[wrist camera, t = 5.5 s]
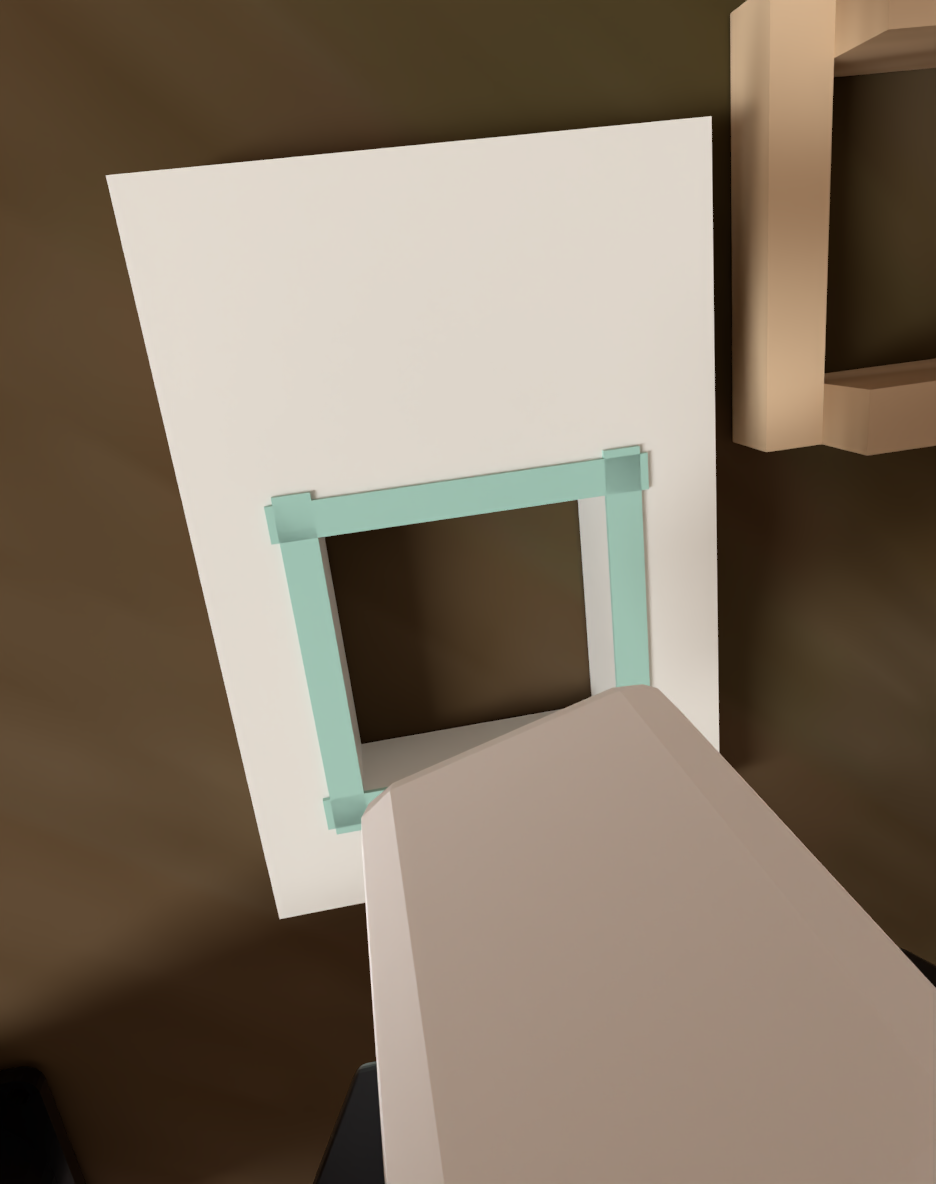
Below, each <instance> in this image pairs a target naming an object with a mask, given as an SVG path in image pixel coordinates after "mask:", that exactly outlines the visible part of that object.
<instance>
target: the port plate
mask: <svg viewBox="0 0 936 1184" xmlns="http://www.w3.org/2000/svg"><path fill="white" fill-rule="evenodd" d="M106 178H107V183H108V187H109V191H110V196H111V200H112V204H113V208H114V213H115V217H116V221H117V225H118V230H119V234H120V238H121V243H122V247H123V251H124V255H125V260H126V264H127V268H128V273H129V277H130V281H131V285H132V290H133V294H134V298H135V303H136V307H137V311H138V315H139V320H140V324H141V328H142V332H143V337H144V341H145V345H146V350H147V354H148V358H149V362H150V367H151V371H152V375H153V380H154V384H155V388H156V392H157V397H158V401H159V405H160V410H161V414H162V418H163V422H164V427H165V431H166V435H167V439H168V444H169V448H170V452H171V457H172V461H173V465H174V469H175V474H176V478H177V482H178V487H179V491H180V495H181V499H182V504H183V508H184V512H185V517H186V521H187V525H188V529H189V534H190V538H191V542H192V546H193V551H194V555H195V559H196V564H197V568H198V572H199V576H200V581H201V585H202V589H203V594H204V598H205V602H206V606H207V611H208V615H209V619H210V624H211V628H212V632H213V636H214V641H215V645H216V649H217V653H218V658H219V662H220V666H221V671H222V675H223V679H224V683H225V688H226V692H227V696H228V701H229V705H230V709H231V713H232V718H233V722H234V726H235V731H236V735H237V739H238V743H239V748H240V752H241V756H242V760H243V765H244V769H245V773H246V778H247V782H248V786H249V790H250V795H251V799H252V803H253V808H254V812H255V816H256V820H257V825H258V829H259V833H260V838H261V842H262V846H263V850H264V855H265V859H266V863H267V867H268V872H269V876H270V880H271V885H272V889H273V893H274V897H275V902H276V906H277V910H278V915H279V919H283V918H288V917H293V916H299V915H304V914H309V913H314V912H319V911H324V910H329V909H334V908H340V907H345V906H350V905H355V904H360V903H365V890H364V875H363V861H362V834H361V817H362V815H363V814H364V812H365V810H366V808H367V806H368V804H369V803H370V802H371V801H372V800H374V799H375V798H376V797H377V796H378V795H379V794H381V793H382V792H383V791H384V790H385V789H386V788H388V787H389V786H390V785H391V784H392V783H394V782H396V781H399V780H401V779H403V778H405V777H408V776H410V775H412V774H415V773H417V772H419V771H421V770H424V769H426V768H428V767H431V766H433V765H435V764H437V763H440V762H442V761H444V760H447V759H449V758H451V757H454V756H456V755H458V754H460V753H463V752H465V751H467V750H470V749H472V748H474V747H476V746H479V745H481V744H483V743H486V742H488V741H490V740H493V739H495V738H497V737H499V736H502V735H504V734H506V733H509V732H511V731H513V730H516V729H518V728H520V727H522V726H525V725H527V724H529V723H532V722H534V721H536V720H538V719H541V718H543V717H545V716H548V715H550V714H552V713H555V712H557V711H559V710H561V709H559V710H554V711H548V712H542V713H536V714H531V715H525V716H519V717H514V718H508V719H502V720H496V721H491V722H485V723H479V724H473V725H468V726H462V727H456V728H451V729H445V730H439V731H433V732H428V733H422V734H416V735H411V736H405V737H399V738H393V739H388V740H382V741H376V742H370V743H365V744H361V740H360V734H359V728H358V723H357V717H356V711H355V706H354V700H353V695H352V689H351V683H350V678H349V672H348V666H347V661H346V655H345V649H344V644H343V638H342V632H341V627H340V621H339V615H338V610H337V604H336V599H335V593H334V587H333V582H332V576H331V570H330V565H329V559H328V553H327V548H326V542H325V537H327V536H334V535H340V534H347V533H354V532H361V531H368V530H374V529H381V528H388V527H395V526H402V525H408V524H415V523H422V522H429V521H436V520H442V519H449V518H456V517H463V516H469V515H476V514H483V513H490V512H497V511H503V510H510V509H517V508H524V507H531V506H537V505H544V504H551V503H558V502H565V501H571V500H578V509H579V523H580V537H581V552H582V566H583V581H584V595H585V609H586V624H587V638H588V653H589V667H590V681H591V696H594V695H596V694H598V693H601V692H603V691H605V690H608V689H610V688H613V687H622V686H631V685H640V684H644V685H647V686H651V687H655V688H658V689H659V690H660V691H661V692H662V693H663V694H664V695H665V696H666V697H667V698H668V699H669V700H670V701H671V702H672V703H673V704H674V705H675V706H676V707H677V708H678V709H679V710H680V711H681V712H682V713H683V714H684V715H685V716H686V717H687V718H688V719H689V720H690V722H691V723H692V724H693V725H694V726H695V727H696V728H697V729H698V730H699V731H700V732H701V734H702V735H703V736H704V737H705V738H706V739H707V740H708V741H709V742H710V743H711V744H712V745H713V747H714V748H715V749H716V750H717V751H718V752H719V686H718V604H717V521H716V439H715V356H714V274H713V191H712V116H708V117H697V118H687V119H677V120H667V121H657V122H646V123H636V124H626V125H616V126H605V127H595V128H585V129H575V130H565V131H554V132H544V133H534V134H524V135H514V136H503V137H493V138H483V139H473V140H462V141H452V142H442V143H432V144H422V145H411V146H401V147H391V148H381V149H371V150H360V151H350V152H340V153H330V154H320V155H309V156H299V157H289V158H279V159H268V160H258V161H248V162H238V163H228V164H217V165H207V166H197V167H187V168H177V169H166V170H156V171H146V172H136V173H125V174H115V175H106Z"/></svg>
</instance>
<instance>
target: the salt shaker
mask: <svg viewBox="0 0 936 1184" xmlns="http://www.w3.org/2000/svg"><path fill="white" fill-rule="evenodd" d="M361 834H362V861H363V875H364V890H365V904H366V919H367V933H368V948H369V962H370V976H371V991H372V1005H373V1020H374V1034H375V1049H376V1063H377V1077H378V1092H379V1106H380V1121H381V1135H382V1150H383V1164H384V1178H385V1184H936V988H935V987H934V985H933V984H932V983H931V982H930V981H929V980H928V979H927V978H926V977H925V976H924V975H923V974H922V972H921V971H920V970H919V969H918V968H917V967H916V966H915V965H914V964H913V963H912V962H911V960H910V959H909V958H908V957H907V956H906V955H905V954H904V953H903V952H902V951H901V950H900V949H899V947H898V946H897V945H896V944H895V943H894V942H893V941H892V940H891V939H890V938H889V937H888V936H887V934H886V933H885V932H884V931H883V930H882V929H881V928H880V927H879V926H878V925H877V924H876V922H875V921H874V920H873V919H872V918H871V917H870V916H869V915H868V914H867V913H866V912H865V911H864V909H863V908H862V907H861V906H860V905H859V904H858V903H857V902H856V901H855V900H854V899H853V897H852V896H851V895H850V894H849V893H848V892H847V891H846V890H845V889H844V888H843V887H842V886H841V884H840V883H839V882H838V881H837V880H836V879H835V878H834V877H833V876H832V875H831V874H830V873H829V871H828V870H827V869H826V868H825V867H824V866H823V865H822V864H821V863H820V862H819V861H818V859H817V858H816V857H815V856H814V855H813V854H812V853H811V852H810V851H809V850H808V849H807V848H806V846H805V845H804V844H803V843H802V842H801V841H800V840H799V839H798V838H797V837H796V836H795V835H794V833H793V832H792V831H791V830H790V829H789V828H788V827H787V826H786V825H785V824H784V823H783V821H782V820H781V819H780V818H779V817H778V816H777V815H776V814H775V813H774V812H773V811H772V810H771V808H770V807H769V806H768V805H767V804H766V803H765V802H764V801H763V800H762V799H761V798H760V797H759V795H758V794H757V793H756V792H755V791H754V790H753V789H752V788H751V787H750V786H749V785H748V783H747V782H746V781H745V780H744V779H743V778H742V777H741V776H740V775H739V774H738V773H737V772H736V770H735V769H734V768H733V767H732V766H731V765H730V764H729V763H728V762H727V761H726V760H725V759H724V757H723V756H722V755H721V754H720V753H719V752H718V751H717V750H716V749H715V748H714V747H713V745H712V744H711V743H710V742H709V741H708V740H707V739H706V738H705V737H704V736H703V735H702V734H701V732H700V731H699V730H698V729H697V728H696V727H695V726H694V725H693V724H692V723H691V722H690V720H689V719H688V718H687V717H686V716H685V715H684V714H683V713H682V712H681V711H680V710H679V709H678V708H677V707H676V706H675V705H674V704H673V703H672V702H671V701H670V700H669V699H668V698H667V697H666V696H665V695H664V694H663V693H662V692H661V691H660V690H659V689H658V688H655V687H651V686H647V685H644V684H640V685H631V686H622V687H613V688H610V689H608V690H605V691H603V692H601V693H598V694H596V695H594V696H591V697H589V698H587V699H585V700H582V701H580V702H578V703H575V704H573V705H571V706H568V707H566V708H564V709H561V710H559V711H557V712H555V713H552V714H550V715H548V716H545V717H543V718H541V719H538V720H536V721H534V722H532V723H529V724H527V725H525V726H522V727H520V728H518V729H516V730H513V731H511V732H509V733H506V734H504V735H502V736H499V737H497V738H495V739H493V740H490V741H488V742H486V743H483V744H481V745H479V746H476V747H474V748H472V749H470V750H467V751H465V752H463V753H460V754H458V755H456V756H454V757H451V758H449V759H447V760H444V761H442V762H440V763H437V764H435V765H433V766H431V767H428V768H426V769H424V770H421V771H419V772H417V773H415V774H412V775H410V776H408V777H405V778H403V779H401V780H399V781H396V782H394V783H392V784H391V785H390V786H389V787H388V788H386V789H385V790H384V791H383V792H382V793H381V794H379V795H378V796H377V797H376V798H375V799H374V800H372V801H371V802H370V803H369V804H368V806H367V808H366V810H365V812H364V814H363V815H362V817H361Z"/></svg>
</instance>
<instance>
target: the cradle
mask: <svg viewBox="0 0 936 1184" xmlns="http://www.w3.org/2000/svg"><path fill="white" fill-rule="evenodd" d="M730 40H731V231H732V423H733V442H735V443H738V444H741V445H744V446H748V447H751V448H754V449H757V450H761V451H764V452H772V451H778V450H785V449H792V448H799V447H806V446H813V445H820V444H823V445H827V446H831V447H835V448H839V449H843V450H847V451H851V452H855V453H859V454H862V455H866V456H868V455H875V454H882V453H889V452H895V451H902V450H909V449H916V448H923V447H929V446H936V358H935V359H928V360H921V361H913V362H906V363H898V364H891V365H883V366H876V367H869V368H861V369H854V370H846V371H839V372H832V373H824V368H825V336H826V304H827V272H828V239H829V207H830V175H831V143H832V111H833V78H834V77H843V76H854V75H864V74H875V73H886V72H896V71H907V70H917V69H928V68H936V0H747V1H746V2H745V3H743V4H742V5H741V6H739V7H738V8H737V9H736V10H734V11H733V12H732V13H731V14H730Z"/></svg>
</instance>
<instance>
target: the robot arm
mask: <svg viewBox="0 0 936 1184" xmlns="http://www.w3.org/2000/svg"><path fill="white" fill-rule="evenodd" d="M899 949H900V950H901V951H902V952H903V953H904V954H905V955H906V956H907V957H908V958H909V959H910V960H911V962H912V963H913V964H914V965H915V966H916V967H917V968H918V969H919V970H920V971H921V972H922V974H923V975H924V976H925V977H926V978H927V979H928V980H929V981H930V982H931V983H932V984H933V985H934V987H935V988H936V966H935V965H933V964H931V963H929V962H928V961H926V960H924V959H922V958H920V957H918V956H917V955H915V954H913V953H911V952H909V951H907V950H904V949H901V948H899ZM20 1089H23V1090H20ZM0 1184H86V1183H85V1181H84V1178H83V1175H82V1173H81V1170H80V1167H79V1165H78V1162H77V1160H76V1157H75V1154H74V1152H73V1149H72V1146H71V1144H70V1141H69V1139H68V1136H67V1133H66V1131H65V1128H64V1126H63V1123H62V1120H61V1118H60V1115H59V1112H58V1110H57V1107H56V1105H55V1102H54V1099H53V1097H52V1094H51V1091H50V1089H49V1086H48V1084H47V1081H46V1078H45V1077H44V1075H43V1074H42V1072H40V1071H38V1070H37V1069H35V1068H31V1067H16V1068H11V1069H7V1070H2V1071H0ZM313 1184H385V1178H384V1164H383V1150H382V1135H381V1121H380V1106H379V1092H378V1077H377V1063H376V1061H375V1062H370V1063H366V1064H363V1065H361V1066H360V1067H359V1068H358V1069H357V1071H356V1073H355V1075H354V1077H353V1080H352V1082H351V1085H350V1087H349V1090H348V1093H347V1095H346V1098H345V1101H344V1103H343V1106H342V1108H341V1111H340V1114H339V1116H338V1119H337V1121H336V1124H335V1127H334V1129H333V1132H332V1135H331V1137H330V1140H329V1142H328V1145H327V1148H326V1150H325V1153H324V1156H323V1158H322V1161H321V1163H320V1166H319V1169H318V1171H317V1174H316V1176H315V1179H314V1182H313Z"/></svg>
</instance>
